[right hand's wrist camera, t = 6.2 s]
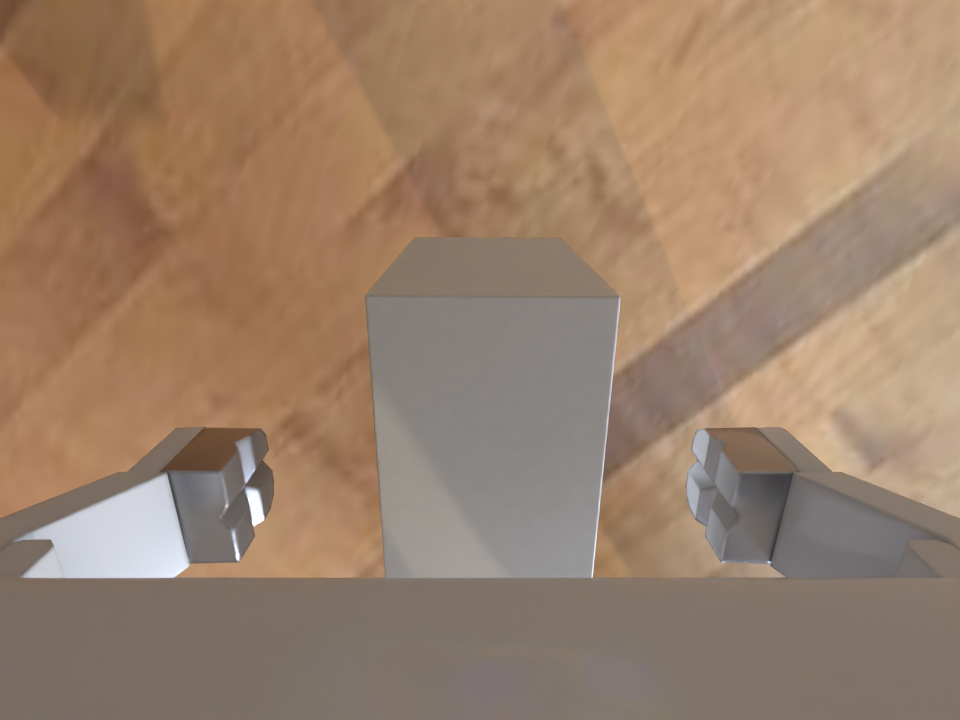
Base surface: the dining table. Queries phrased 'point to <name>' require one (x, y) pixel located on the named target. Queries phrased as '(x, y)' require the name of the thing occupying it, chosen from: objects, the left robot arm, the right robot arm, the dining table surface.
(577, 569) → the bar
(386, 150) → the dining table surface
